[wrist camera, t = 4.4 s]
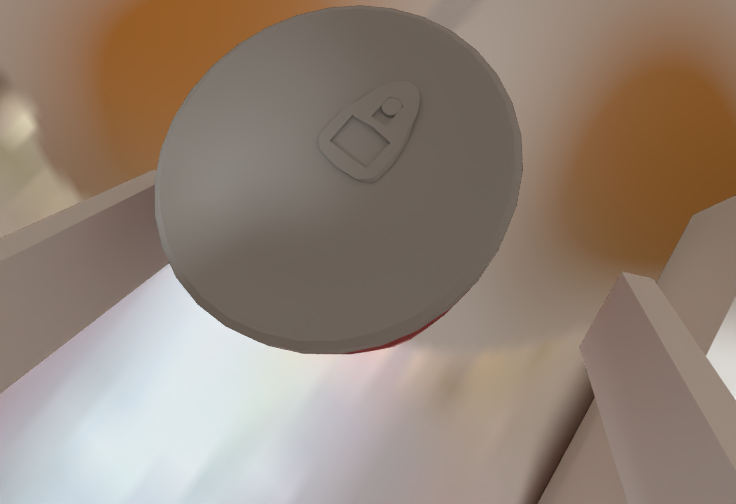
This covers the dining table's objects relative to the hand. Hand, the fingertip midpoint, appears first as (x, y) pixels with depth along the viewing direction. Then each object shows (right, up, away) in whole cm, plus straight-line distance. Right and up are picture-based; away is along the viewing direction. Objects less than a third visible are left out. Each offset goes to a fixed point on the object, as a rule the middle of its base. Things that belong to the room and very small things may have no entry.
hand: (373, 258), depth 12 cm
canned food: (0, -1, +7) cm, 7 cm away
